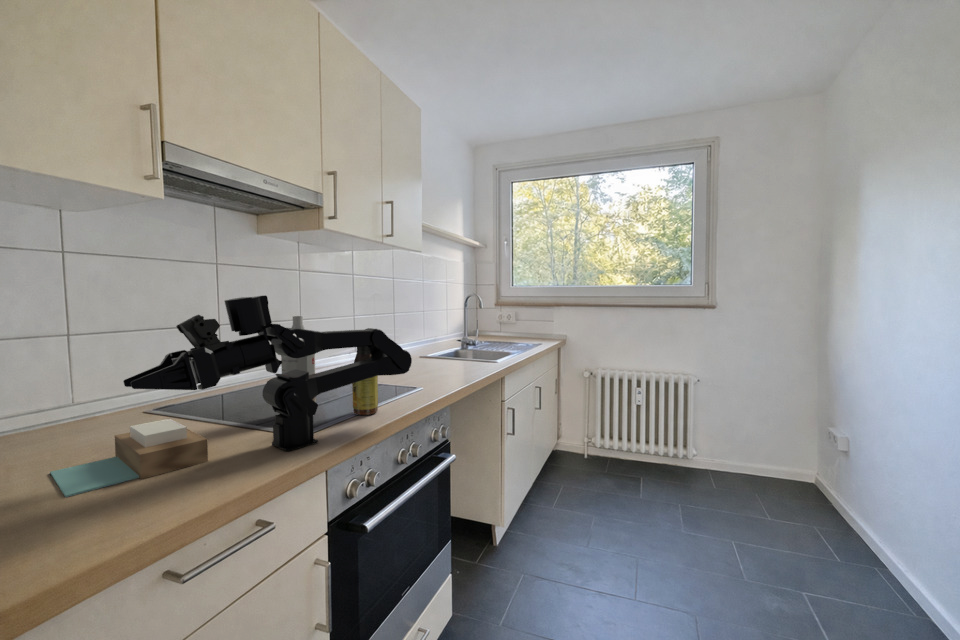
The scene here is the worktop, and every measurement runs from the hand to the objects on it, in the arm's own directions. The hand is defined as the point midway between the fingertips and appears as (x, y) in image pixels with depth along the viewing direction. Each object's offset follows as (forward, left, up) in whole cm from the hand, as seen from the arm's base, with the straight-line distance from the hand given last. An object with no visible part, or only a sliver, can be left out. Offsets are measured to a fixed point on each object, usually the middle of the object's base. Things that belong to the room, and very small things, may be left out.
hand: (127, 384), depth 63 cm
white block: (-6, -10, -12) cm, 16 cm away
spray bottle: (-37, -18, -16) cm, 44 cm away
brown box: (-6, -10, -16) cm, 20 cm away
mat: (+2, -10, -16) cm, 19 cm away
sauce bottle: (-48, -6, -16) cm, 51 cm away
